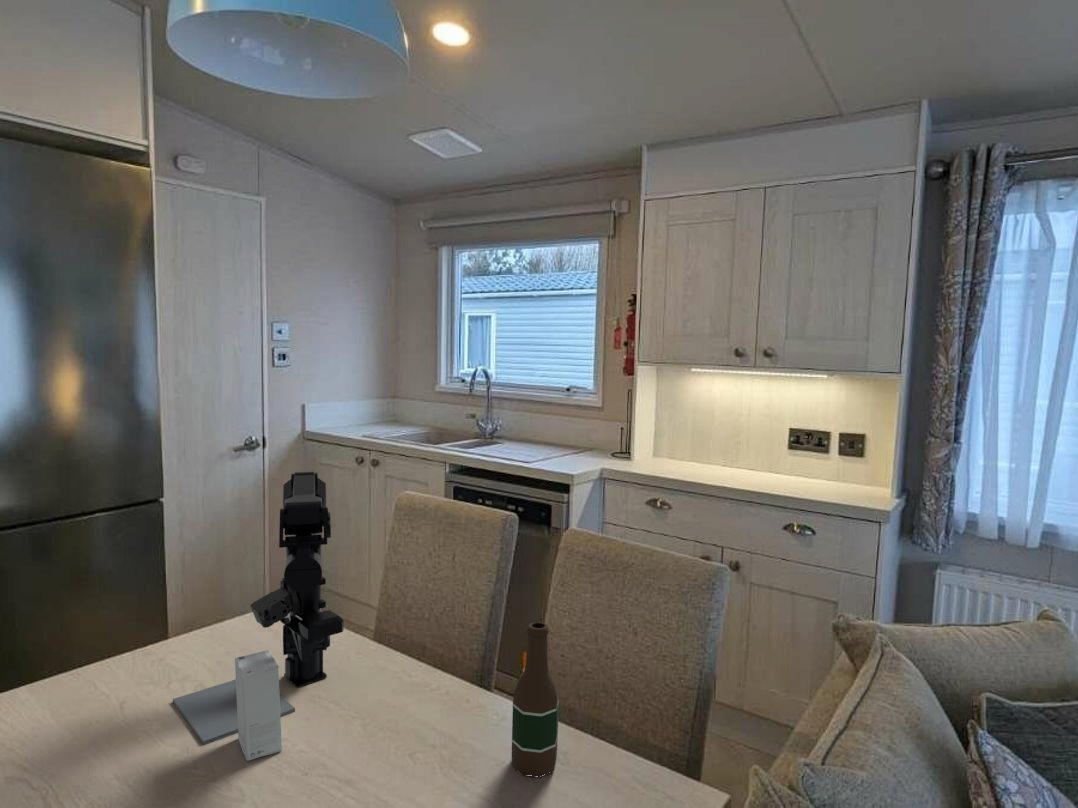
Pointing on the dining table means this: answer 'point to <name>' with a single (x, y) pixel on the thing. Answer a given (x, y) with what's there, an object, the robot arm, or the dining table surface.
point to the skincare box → (258, 704)
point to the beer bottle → (535, 709)
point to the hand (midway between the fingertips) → (304, 660)
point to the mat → (216, 711)
